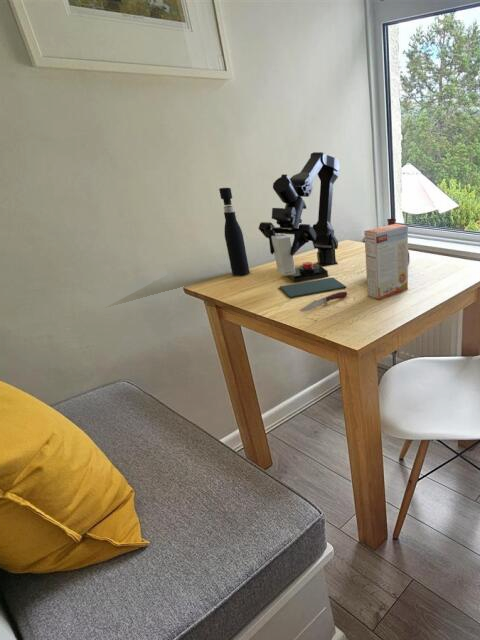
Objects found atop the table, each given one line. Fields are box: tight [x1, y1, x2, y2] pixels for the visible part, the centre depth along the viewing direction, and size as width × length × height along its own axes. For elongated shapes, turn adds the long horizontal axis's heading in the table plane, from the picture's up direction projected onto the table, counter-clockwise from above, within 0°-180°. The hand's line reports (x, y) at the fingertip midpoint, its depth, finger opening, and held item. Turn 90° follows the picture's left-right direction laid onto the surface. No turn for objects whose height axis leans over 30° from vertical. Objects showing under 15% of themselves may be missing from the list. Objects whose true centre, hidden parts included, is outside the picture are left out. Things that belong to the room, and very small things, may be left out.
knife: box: [298, 290, 348, 312], centre depth 131 cm, size 20×1×3 cm, turn 142°
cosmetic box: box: [271, 233, 296, 277], centre depth 140 cm, size 6×4×12 cm
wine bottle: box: [218, 187, 250, 277], centre depth 155 cm, size 6×6×30 cm
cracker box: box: [364, 223, 409, 300], centre depth 136 cm, size 14×6×21 cm, turn 135°
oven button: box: [302, 261, 314, 269], centre depth 155 cm, size 4×4×2 cm
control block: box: [286, 264, 329, 283], centre depth 158 cm, size 13×11×4 cm
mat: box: [279, 277, 347, 299], centre depth 147 cm, size 20×12×1 cm, turn 118°
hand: (281, 254), depth 139 cm, fingers closed on cosmetic box, 7 cm apart
